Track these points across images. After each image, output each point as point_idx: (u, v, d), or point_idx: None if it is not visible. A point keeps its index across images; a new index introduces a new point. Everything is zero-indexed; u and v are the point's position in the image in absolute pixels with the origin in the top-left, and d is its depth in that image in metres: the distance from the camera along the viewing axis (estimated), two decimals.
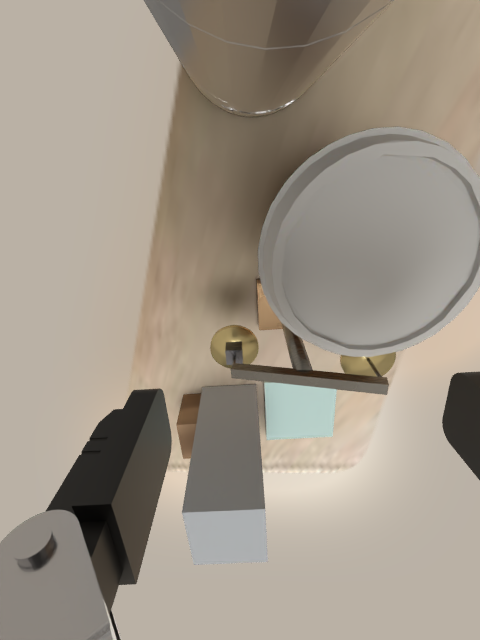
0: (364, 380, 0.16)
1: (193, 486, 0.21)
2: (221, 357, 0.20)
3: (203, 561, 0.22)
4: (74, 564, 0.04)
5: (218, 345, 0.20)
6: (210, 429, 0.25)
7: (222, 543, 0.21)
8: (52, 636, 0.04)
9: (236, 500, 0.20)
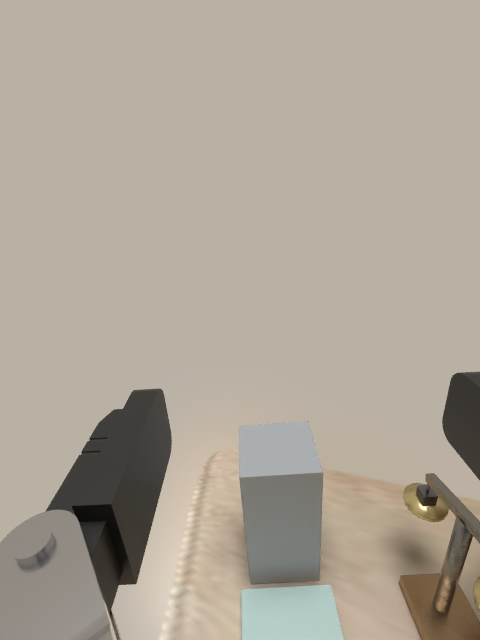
0: None
1: None
2: (412, 490, 0.25)
3: (243, 431, 0.26)
4: (74, 564, 0.04)
5: None
6: None
7: (270, 443, 0.24)
8: (52, 636, 0.04)
9: None
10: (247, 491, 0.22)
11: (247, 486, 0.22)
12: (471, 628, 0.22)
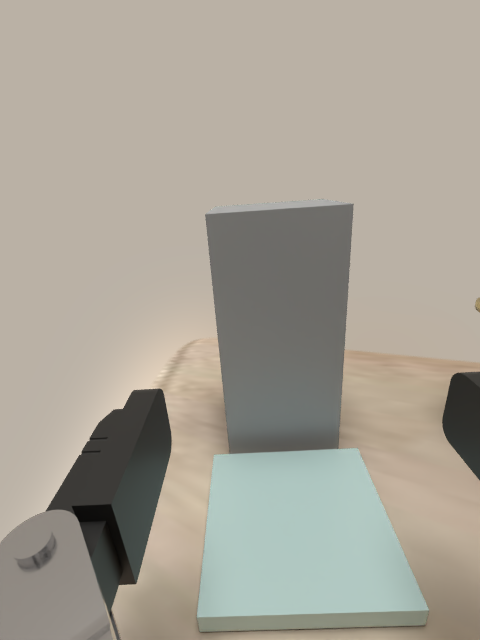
0: None
1: None
2: None
3: (220, 207, 0.16)
4: (74, 564, 0.04)
5: None
6: None
7: (261, 205, 0.15)
8: (52, 635, 0.04)
9: None
10: (220, 249, 0.13)
11: (220, 236, 0.13)
12: None
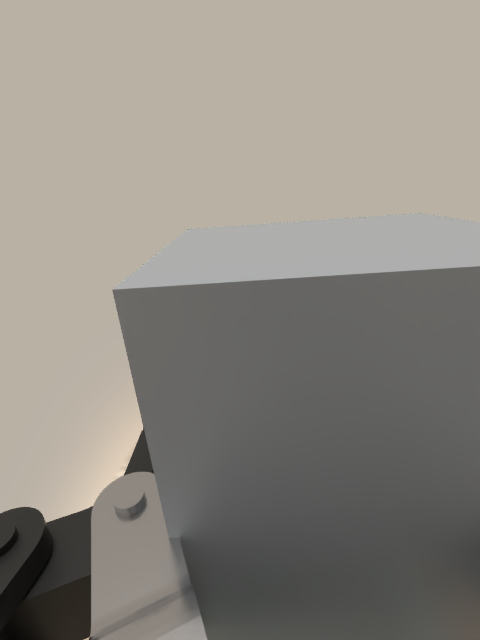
0: None
1: None
2: None
3: (197, 232, 0.07)
4: None
5: None
6: None
7: (297, 235, 0.06)
8: (142, 582, 0.04)
9: None
10: (175, 398, 0.04)
11: (172, 362, 0.04)
12: None
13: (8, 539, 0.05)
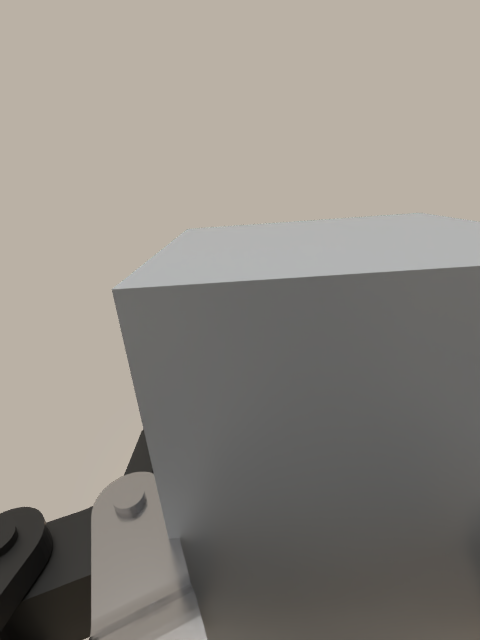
0: None
1: None
2: None
3: (197, 231, 0.07)
4: None
5: None
6: None
7: (297, 235, 0.06)
8: (142, 582, 0.04)
9: None
10: (175, 398, 0.04)
11: (171, 362, 0.04)
12: None
13: (8, 539, 0.05)
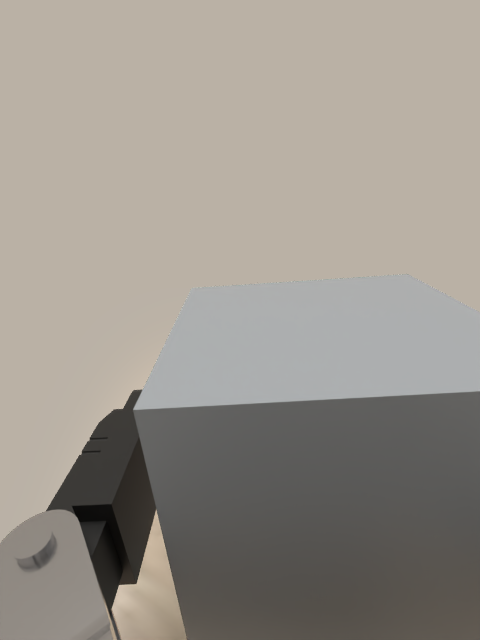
0: None
1: None
2: None
3: (201, 295, 0.08)
4: (74, 564, 0.04)
5: None
6: None
7: (292, 312, 0.06)
8: (53, 635, 0.04)
9: None
10: (185, 490, 0.04)
11: (183, 463, 0.04)
12: None
13: None
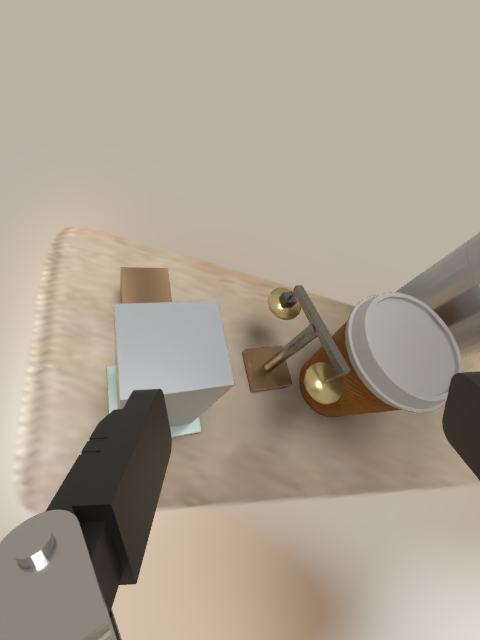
0: (341, 358, 0.22)
1: None
2: (276, 294, 0.28)
3: (121, 316, 0.17)
4: (74, 564, 0.04)
5: None
6: None
7: (164, 339, 0.17)
8: (52, 636, 0.04)
9: None
10: None
11: None
12: (283, 378, 0.31)
13: None
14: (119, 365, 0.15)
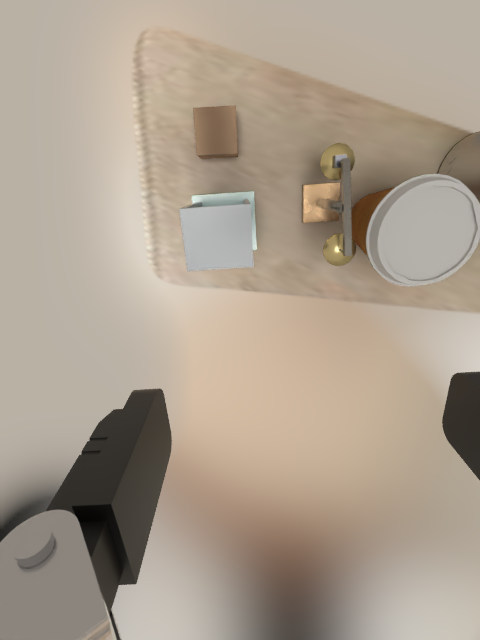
0: (351, 242, 0.28)
1: None
2: (331, 151, 0.29)
3: (184, 218, 0.26)
4: (74, 564, 0.04)
5: (341, 149, 0.29)
6: None
7: (211, 235, 0.26)
8: (52, 636, 0.04)
9: None
10: None
11: None
12: (332, 215, 0.37)
13: None
14: (185, 251, 0.27)
